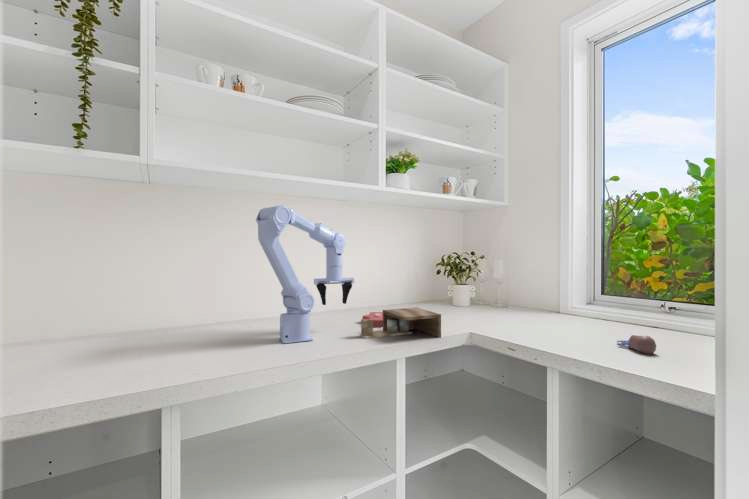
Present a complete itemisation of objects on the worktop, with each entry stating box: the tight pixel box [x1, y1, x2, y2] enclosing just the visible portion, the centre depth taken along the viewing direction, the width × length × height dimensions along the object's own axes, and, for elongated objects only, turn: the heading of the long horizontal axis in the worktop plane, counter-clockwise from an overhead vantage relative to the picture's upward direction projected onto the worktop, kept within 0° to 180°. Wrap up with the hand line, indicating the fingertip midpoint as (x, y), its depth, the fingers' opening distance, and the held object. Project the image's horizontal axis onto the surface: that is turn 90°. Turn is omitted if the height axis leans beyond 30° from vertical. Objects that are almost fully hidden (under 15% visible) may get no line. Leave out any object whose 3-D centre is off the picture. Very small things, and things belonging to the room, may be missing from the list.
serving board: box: [360, 318, 413, 340], centre depth 117 cm, size 18×5×6 cm, turn 114°
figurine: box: [616, 335, 657, 356], centre depth 98 cm, size 5×5×12 cm
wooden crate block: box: [382, 307, 442, 339], centre depth 117 cm, size 14×16×8 cm
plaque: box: [362, 311, 383, 329], centre depth 137 cm, size 18×4×15 cm
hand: (334, 303), depth 122 cm, fingers open, 7 cm apart
